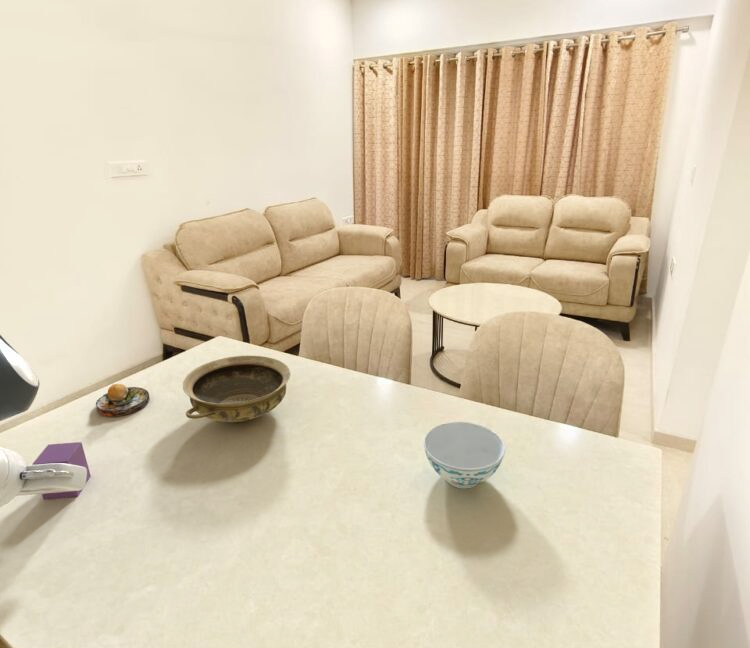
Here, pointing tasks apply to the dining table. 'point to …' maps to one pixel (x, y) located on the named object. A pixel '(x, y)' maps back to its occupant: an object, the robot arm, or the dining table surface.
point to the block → (63, 454)
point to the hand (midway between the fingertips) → (39, 487)
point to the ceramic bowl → (236, 388)
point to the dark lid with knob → (122, 400)
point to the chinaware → (463, 452)
